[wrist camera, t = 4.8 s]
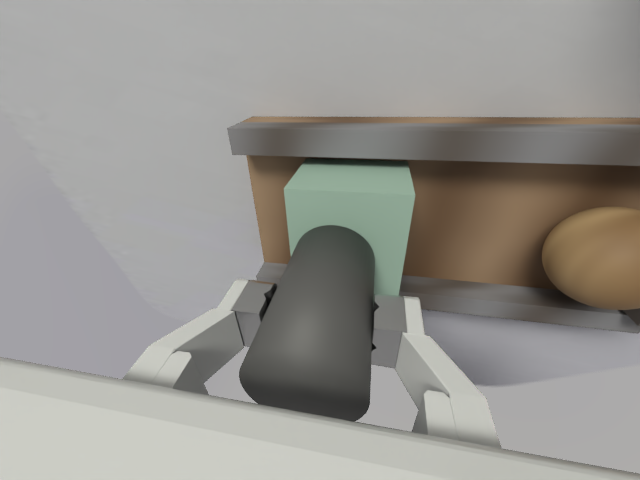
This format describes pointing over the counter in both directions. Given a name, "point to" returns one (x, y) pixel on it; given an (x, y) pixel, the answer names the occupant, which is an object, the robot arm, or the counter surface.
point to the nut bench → (464, 200)
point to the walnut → (596, 257)
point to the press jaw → (331, 286)
